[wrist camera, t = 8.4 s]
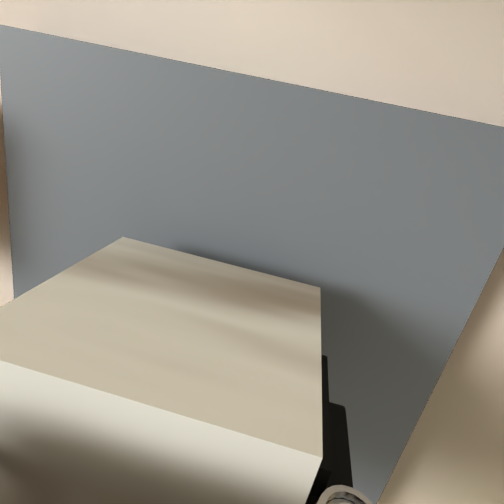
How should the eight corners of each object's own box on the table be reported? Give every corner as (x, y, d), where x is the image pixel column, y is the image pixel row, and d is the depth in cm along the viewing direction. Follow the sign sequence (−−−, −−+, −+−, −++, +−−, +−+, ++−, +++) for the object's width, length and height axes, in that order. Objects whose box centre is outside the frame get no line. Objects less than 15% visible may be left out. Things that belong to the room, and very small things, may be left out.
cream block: (122, 236, 11) (-60, 341, 6) (320, 287, 11) (322, 457, 5) (112, 391, 14) (-27, 570, 8) (273, 440, 13) (242, 668, 8)
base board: (32, 34, 13) (-4, 23, 11) (527, 136, 11) (558, 137, 10) (43, 397, 19) (21, 419, 17) (361, 494, 17) (364, 526, 16)
